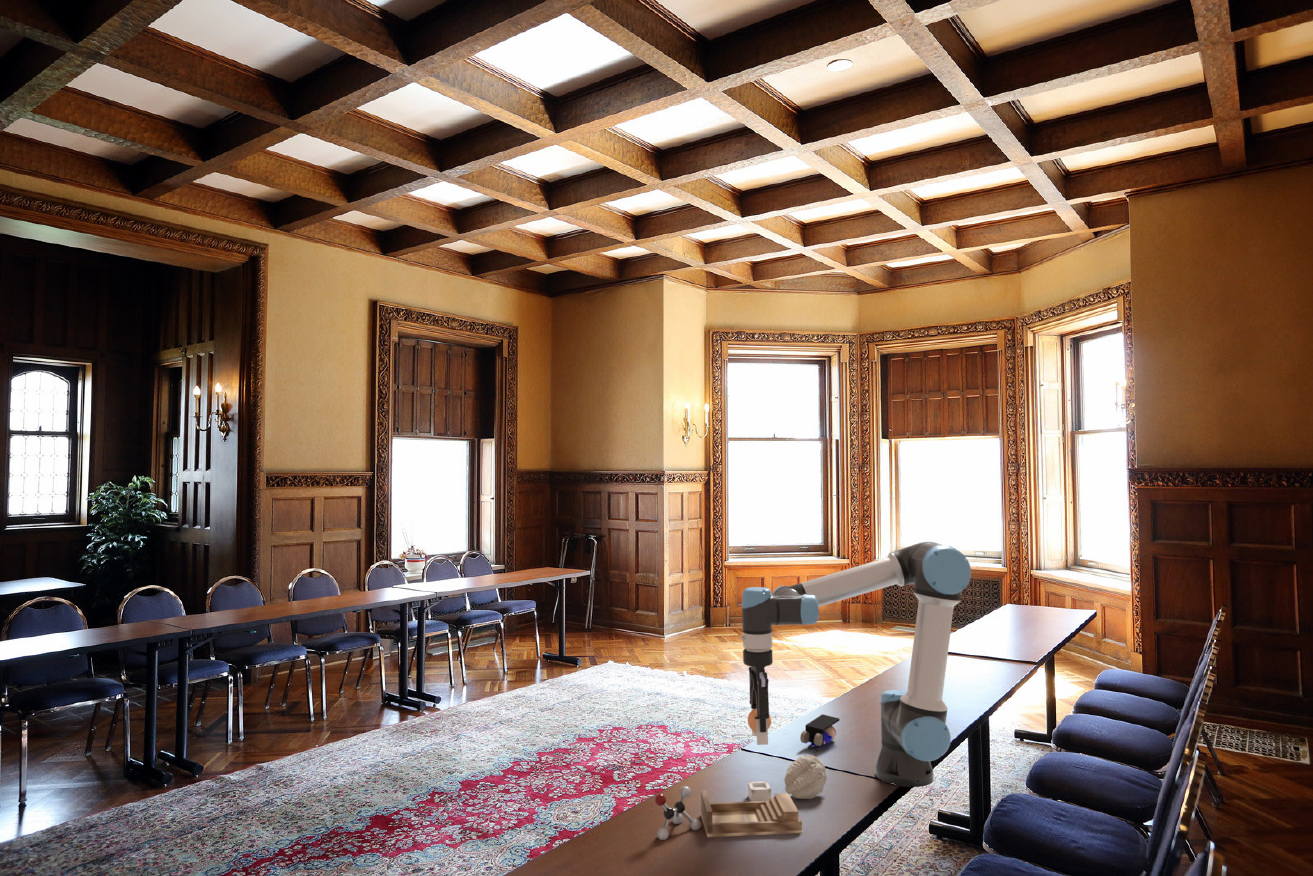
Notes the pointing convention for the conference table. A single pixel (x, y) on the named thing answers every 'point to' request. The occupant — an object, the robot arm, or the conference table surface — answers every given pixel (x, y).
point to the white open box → (759, 791)
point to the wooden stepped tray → (750, 817)
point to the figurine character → (819, 731)
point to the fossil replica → (805, 777)
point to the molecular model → (676, 816)
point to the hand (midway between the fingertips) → (760, 739)
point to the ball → (753, 721)
